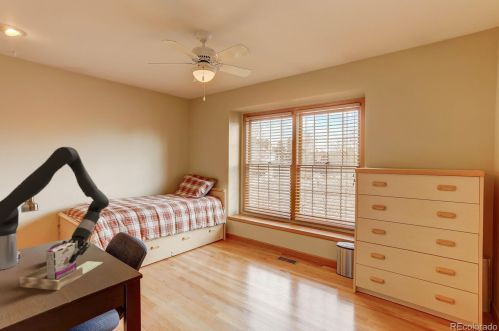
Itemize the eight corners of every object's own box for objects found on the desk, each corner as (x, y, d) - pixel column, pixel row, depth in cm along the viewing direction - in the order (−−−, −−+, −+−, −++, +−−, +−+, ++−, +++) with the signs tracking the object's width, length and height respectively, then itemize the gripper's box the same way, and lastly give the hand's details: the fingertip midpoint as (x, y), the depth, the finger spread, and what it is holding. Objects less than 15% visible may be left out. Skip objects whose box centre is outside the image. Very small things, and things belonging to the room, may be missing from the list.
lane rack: (20, 286, 115) (19, 278, 115) (48, 272, 129) (48, 264, 129) (58, 290, 113) (57, 281, 113) (82, 275, 127) (82, 267, 127)
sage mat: (67, 273, 129) (67, 272, 129) (88, 261, 143) (88, 261, 143) (83, 274, 128) (83, 273, 128) (102, 262, 142) (102, 262, 142)
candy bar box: (68, 275, 127) (67, 242, 126) (77, 276, 126) (76, 242, 125) (46, 286, 116) (45, 250, 115) (55, 287, 115) (54, 251, 114)
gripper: (67, 226, 132) (46, 258, 120) (92, 227, 130) (74, 260, 119) (75, 233, 137) (56, 264, 126) (100, 234, 135) (83, 266, 124)
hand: (65, 262), depth 122 cm, fingers closed on candy bar box, 5 cm apart
